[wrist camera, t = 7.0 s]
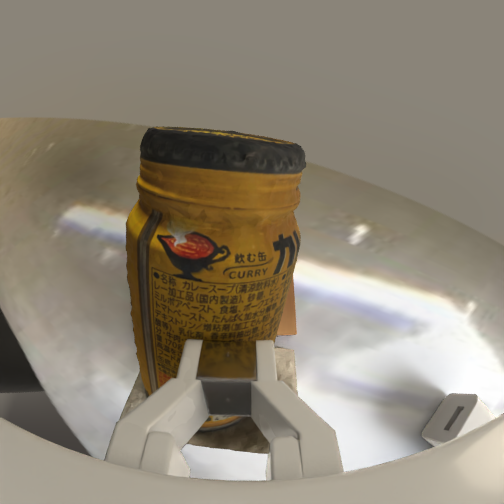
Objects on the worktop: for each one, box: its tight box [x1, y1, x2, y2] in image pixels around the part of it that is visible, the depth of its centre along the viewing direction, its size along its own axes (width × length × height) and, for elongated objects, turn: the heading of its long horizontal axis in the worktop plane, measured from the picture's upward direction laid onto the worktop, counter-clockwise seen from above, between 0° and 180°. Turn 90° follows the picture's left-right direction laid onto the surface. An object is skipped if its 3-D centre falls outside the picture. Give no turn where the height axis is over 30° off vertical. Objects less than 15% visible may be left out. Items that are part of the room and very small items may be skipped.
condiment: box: [119, 127, 306, 454], centre depth 11 cm, size 7×8×12 cm
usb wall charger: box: [422, 393, 496, 447], centre depth 12 cm, size 4×7×4 cm, turn 46°
